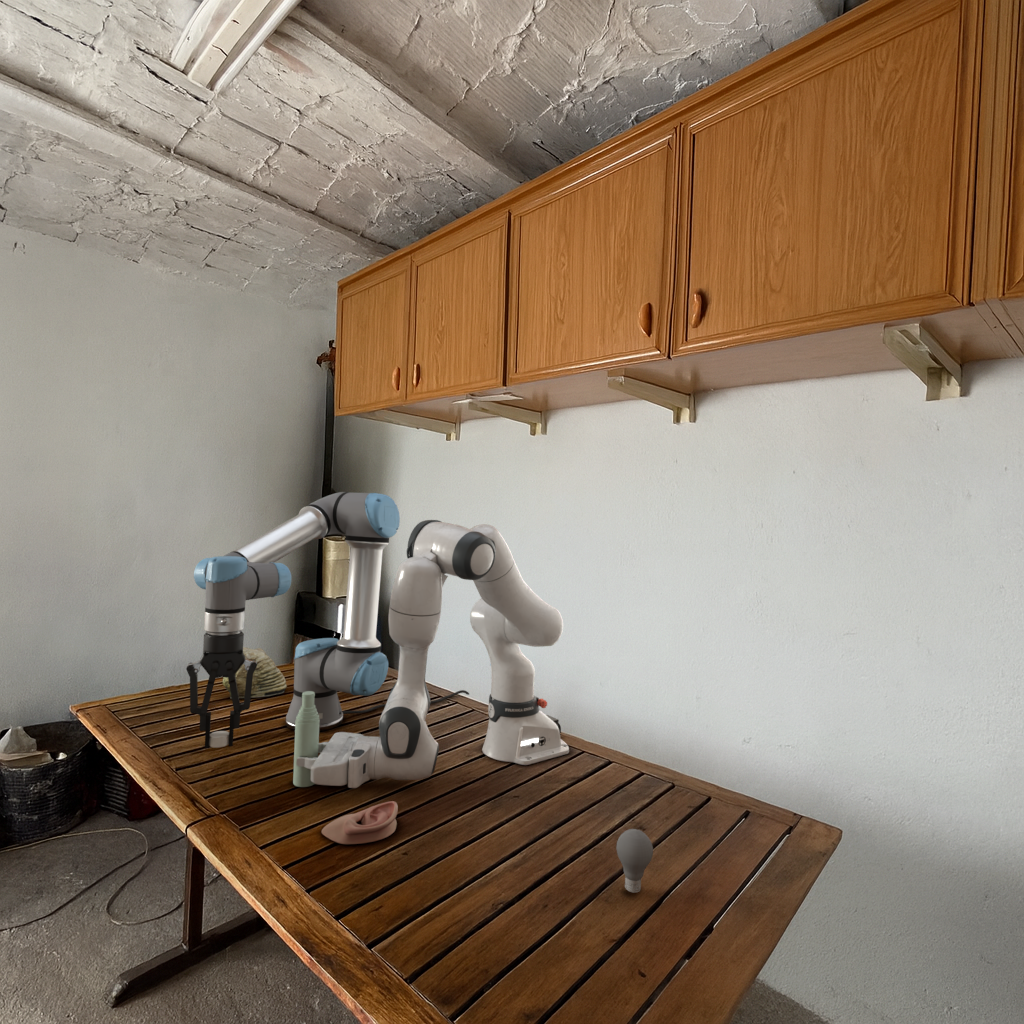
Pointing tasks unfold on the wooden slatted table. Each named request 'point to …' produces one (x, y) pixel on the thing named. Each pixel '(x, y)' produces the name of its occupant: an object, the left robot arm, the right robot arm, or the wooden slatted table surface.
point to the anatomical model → (364, 825)
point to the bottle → (306, 738)
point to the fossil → (259, 676)
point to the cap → (219, 739)
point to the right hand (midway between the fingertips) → (302, 754)
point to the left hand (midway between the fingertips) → (219, 744)
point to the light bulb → (634, 857)
